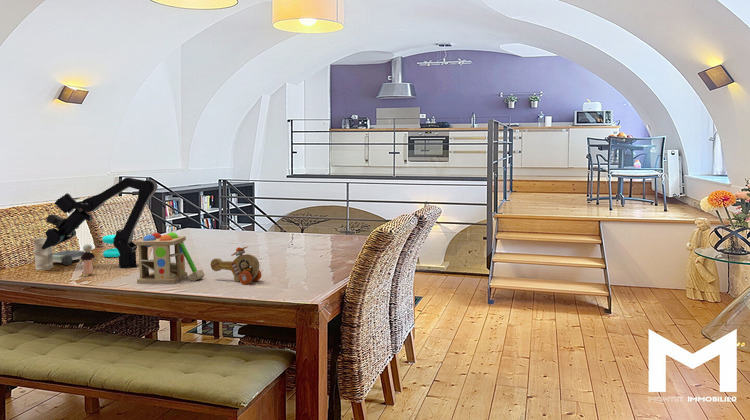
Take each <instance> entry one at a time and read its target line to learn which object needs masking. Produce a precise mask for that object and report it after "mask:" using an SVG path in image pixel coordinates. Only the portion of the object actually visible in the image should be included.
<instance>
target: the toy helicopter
mask: <svg viewBox="0 0 750 420" xmlns="http://www.w3.org/2000/svg"><path fill="white" fill-rule="evenodd" d="M247 248H249V246H245V247H240V246H239V247H237V248H236V250H235V252H234V253H232V254H231V257H233V256H237V257H236V258H235V259H233V260H232V261H231V260H229V261H228V260H227V261H226V260H222V259H221V258H218V257H217V258H213V259H211V262H210V268H211V270H212V271H214V272H218V271H219V272H220V271H221V270H226V271H230V272H232V275H233V280H234V282H236V283H239V282H240V283H241V284H242V285H244V286H245V285H249V284H251V283H252V282H258V281H260V280H261V278H262V272H261V270H260V261H259V259H258V258H257V257H256V256H255V255H252V254H249V253H246V250H245V249H247Z"/></svg>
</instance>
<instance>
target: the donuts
mask: <svg viewBox="0 0 750 420" xmlns="http://www.w3.org/2000/svg"><path fill="white" fill-rule="evenodd" d="M115 235H116V234H108V235H104V236H103V237H102V241H103V243H105V244H109V245H114V244H113V242H114V240H115V239H114V240H113V238H114V237H115ZM102 256H103V257H104V258H107V257H116V258H119V256H120V254H119V251H118V249H117V248H115V247H113V248H108V249H106V250H103V252H102Z"/></svg>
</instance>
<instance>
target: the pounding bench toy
mask: <svg viewBox="0 0 750 420" xmlns="http://www.w3.org/2000/svg"><path fill="white" fill-rule="evenodd" d="M186 238H187V237H186V236H181V235H178V234H177V233H176V232H175V231H174V232H172V231H171V232H169V233H167V234H161V233H159V232H154V233H151V234H146V235H145V236H143V238H141V239H138V240H135V242H134V244H135V245H137V248H138V268H139V270H138V272H139V278H137V280H136V283H137V284H176V283H178V282H180V281H181V280H183V279H185V278H186V277H187V276H188V271H186V263H185V262H186V261H187V264H188V266H189V268H190V269H191V274H189V277H190V280H191V281H192V282H195V281H198V280H201V279H202V278H204V277H205V272H204V270H203V269H202V268H200V269H199V270H198V269H197V267H196V265H195V263H194V261H193V259H192V257H191V256H190V253H189V251H188V250H187V247H186V245H185V243H184V242H185V241H186V240H187V239H186ZM171 246H174V253H172V254H171V248H170V247H171ZM149 247H152V255H153V256H152V257H153V259H152V258H151V259H149V253H148V252H149ZM173 257H174V258H175V259H174V260H175V262H172V261H171V258H173ZM185 260H186V261H185ZM150 270H152V271H153V272H152V271H151V272H150Z"/></svg>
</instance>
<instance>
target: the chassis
mask: <svg viewBox="0 0 750 420" xmlns="http://www.w3.org/2000/svg"><path fill="white" fill-rule="evenodd" d="M83 253H85V251H84V250H77V249H76V250H74V249H72V250H70V249H69V250H68V249H67V250H63V251H61V250H60V251H56V252H52V255H53V263H61V264H62V265H64V266H70V265H71V264H72V263H73V261H74V260H75V261H76V260H80V258H81V257H82V255H83Z"/></svg>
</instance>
